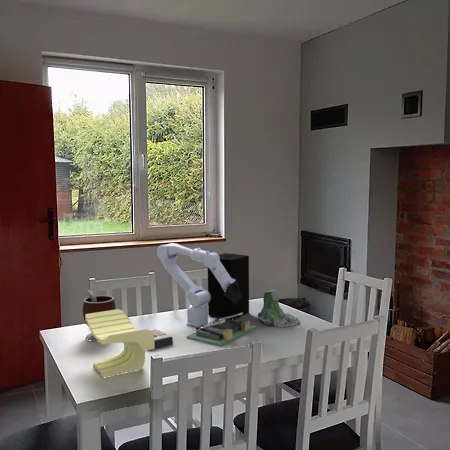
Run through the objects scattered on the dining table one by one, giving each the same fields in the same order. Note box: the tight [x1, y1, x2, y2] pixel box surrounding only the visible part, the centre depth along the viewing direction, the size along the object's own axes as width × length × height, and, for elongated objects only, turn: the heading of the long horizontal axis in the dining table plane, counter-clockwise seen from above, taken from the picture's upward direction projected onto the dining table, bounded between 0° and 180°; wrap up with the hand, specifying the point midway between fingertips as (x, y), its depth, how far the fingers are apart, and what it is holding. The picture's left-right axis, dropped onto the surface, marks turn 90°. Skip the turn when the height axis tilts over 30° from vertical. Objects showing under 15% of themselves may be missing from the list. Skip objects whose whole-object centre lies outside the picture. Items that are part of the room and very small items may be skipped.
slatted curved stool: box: [85, 308, 156, 379], centre depth 179 cm, size 30×16×18 cm, turn 30°
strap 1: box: [199, 320, 225, 330], centre depth 211 cm, size 12×3×1 cm, turn 55°
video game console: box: [207, 252, 250, 320], centre depth 245 cm, size 15×15×30 cm
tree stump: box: [257, 288, 300, 328], centre depth 234 cm, size 18×20×18 cm
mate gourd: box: [82, 289, 117, 342], centre depth 214 cm, size 16×14×20 cm
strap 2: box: [218, 313, 243, 321], centre depth 223 cm, size 12×3×1 cm, turn 55°
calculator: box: [149, 328, 174, 351], centre depth 206 cm, size 11×4×15 cm
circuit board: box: [186, 325, 256, 347], centre depth 217 cm, size 18×28×1 cm, turn 145°
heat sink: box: [195, 317, 250, 341], centre depth 217 cm, size 16×22×4 cm
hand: (238, 300), depth 218 cm, fingers open, 7 cm apart
